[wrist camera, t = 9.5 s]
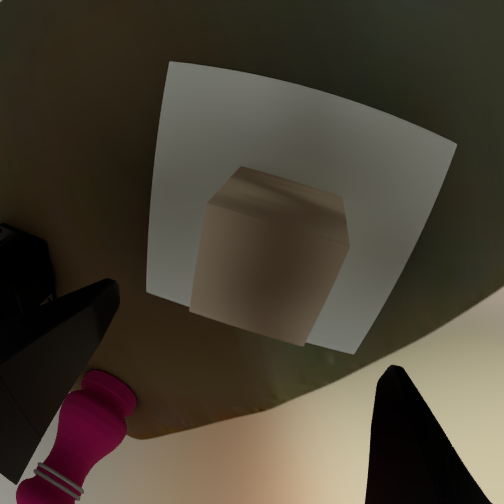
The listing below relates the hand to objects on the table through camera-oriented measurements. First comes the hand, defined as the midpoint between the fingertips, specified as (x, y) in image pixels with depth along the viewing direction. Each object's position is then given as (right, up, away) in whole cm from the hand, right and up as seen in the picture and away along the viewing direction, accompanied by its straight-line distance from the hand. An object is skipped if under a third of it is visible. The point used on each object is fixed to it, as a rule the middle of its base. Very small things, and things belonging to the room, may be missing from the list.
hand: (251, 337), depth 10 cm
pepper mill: (-15, -12, +21) cm, 28 cm away
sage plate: (+1, +4, +8) cm, 9 cm away
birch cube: (+1, +4, +7) cm, 8 cm away
